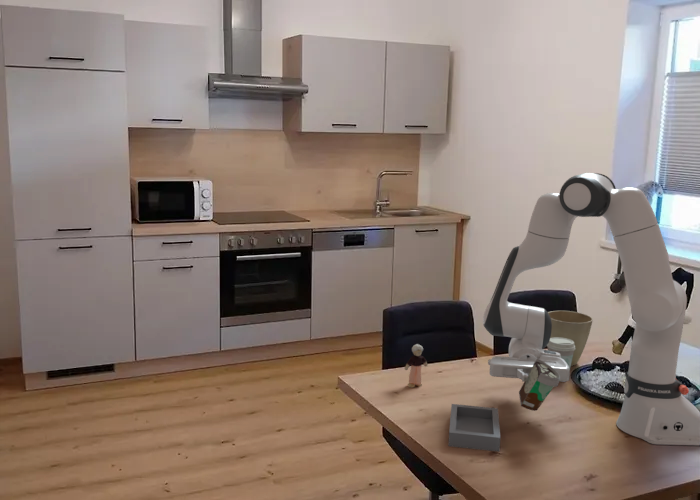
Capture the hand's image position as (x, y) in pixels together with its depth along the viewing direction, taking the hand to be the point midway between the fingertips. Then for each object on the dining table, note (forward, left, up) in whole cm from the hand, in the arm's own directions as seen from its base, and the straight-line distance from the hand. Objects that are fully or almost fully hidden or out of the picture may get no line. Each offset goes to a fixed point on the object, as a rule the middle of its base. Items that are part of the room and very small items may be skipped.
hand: (530, 379), depth 172 cm
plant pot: (-17, -58, -14) cm, 62 cm away
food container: (0, +2, -6) cm, 6 cm away
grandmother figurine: (+30, -24, -14) cm, 41 cm away
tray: (+13, +5, -14) cm, 20 cm away
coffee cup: (-13, -42, -14) cm, 47 cm away
